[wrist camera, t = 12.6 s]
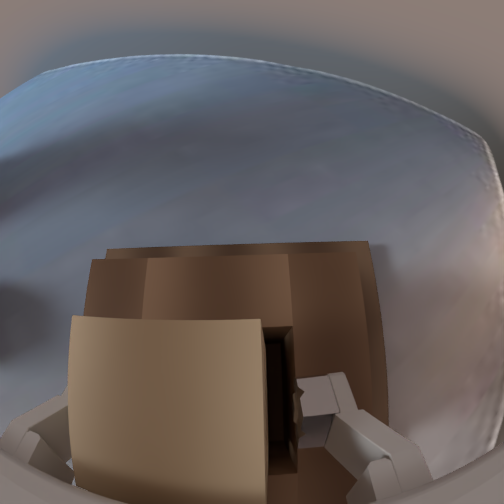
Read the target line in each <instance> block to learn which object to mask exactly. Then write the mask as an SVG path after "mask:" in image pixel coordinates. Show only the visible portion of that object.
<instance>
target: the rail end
mask: <svg viewBox="0 0 504 504" xmlns="http://www.w3.org/2000/svg"><path fill="white" fill-rule="evenodd" d="M68 419H69V434H70V446H71V455H72V463H73V470H74V476H75V482H76V486H78V487H80V488H83V489H85V490H88V491H90V492H93V493H96V494H98V495H101V496H104V497H107V498H110V499H113V500H117V501H120V502H124V503H128V504H267V482H268V450H269V411H268V377H267V354H266V348H265V342H264V337H263V331H262V325H261V319H241V320H147V319H122V318H103V317H88V316H75V315H72V323H71V333H70V345H69V361H68Z"/></svg>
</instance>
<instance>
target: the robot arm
mask: <svg viewBox="0 0 504 504" xmlns="http://www.w3.org/2000/svg"><path fill="white" fill-rule="evenodd" d="M294 391H295V393H294V394H293V397H292V413H293V421H294V422H295V423H296V429H295V436H296V442H297V449H301V448H312V447H322V446H325V448H326V449H327V450H328V451H329V453H330V454H331V455H332V456H333V457H334V458H335V459H336V460H337V461H339V462H340V463H341V464H342V465H343V466H344V467H345V468H346V469H347V470H348V471H349V472H350V473H351V474H352V475H353V476H354V477H355V478H356V479H357V480H358V481H357V482H356V483H355V485H354V486H353V487H352V489H351V490H350V491H349V493H348V494H347V495H346V499H347V504H504V442H503V443H501V444H500V445H498V446H497V447H495V448H494V449H492V450H491V451H489V452H487V453H486V454H484V455H482V456H481V457H479V458H477V459H476V460H474V461H472V462H470V463H468V464H467V465H465V466H463V467H461V468H459V469H457V470H455V471H453V472H451V473H449V474H447V475H445V476H443V477H440V478H438V479H436V480H434V481H433V478H432V476H431V473H430V471H429V469H428V466H427V464H426V461H425V459H424V457H423V454H422V452H421V450H420V448H419V446H418V445H416V444H414V443H413V442H411V441H410V440H408V439H407V438H405V437H403V436H402V435H400V434H399V433H397V432H396V431H394V430H393V429H391V428H390V427H388V426H387V425H385V424H384V423H382V422H381V421H379V420H378V419H376V418H375V417H373V416H372V415H370V414H369V413H368V412H366V411H365V410H363V409H362V410H358V408H357V405H356V402H355V400H354V397H353V394H352V391H351V389H350V386H349V383H348V381H347V378H346V375H345V374H344V373H343V372H338V373H330V374H321V375H311V376H301V377H295V379H294ZM71 458H72V455H71V446H70V434H69V419H68V385H67V387H66V388H65V390H64V392H63V393H62V395H61V396H59V395H57V396H55V397H54V398H52V399H50V400H48V401H46V402H45V403H43V404H41V405H39V406H37V407H35V408H34V409H32V410H30V411H28V412H26V413H24V414H23V415H21V416H19V417H17V418H15V419H13V420H12V421H11V422H10V424H9V426H8V427H7V429H6V430H5V432H4V434H3V435H2V437H1V439H0V504H128V503H124V502H120V501H117V500H113V499H110V498H107V497H104V496H101V495H98V494H95V493H92V492H89V491H86V490H84V489H81V488H79V487H76V486H73V485H71V484H72V481H73V479H74V471H73V470H72V469H71V468H70V467H69V466H68V465H67V464H66V462H67V461H68V460H69V459H71Z"/></svg>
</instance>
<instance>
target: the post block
mask: <svg viewBox="0 0 504 504" xmlns="http://www.w3.org/2000/svg"><path fill="white" fill-rule="evenodd" d="M84 316H88V317H103V318H122V319H147V320H241V319H261V325H262V331H263V337H264V342H265V348H266V354H267V377H268V411H269V450H268V482H267V504H347V499H346V495H347V494H348V493H349V491H350V490H351V489H352V487H353V486H354V485H355V483H356V482H357V481H358V480H357V479H356V478H355V477H354V476H353V475H352V474H351V473H350V472H349V471H348V470H347V469H346V468H345V467H344V466H343V465H342V464H341V463H340V462H339V461H337V460H336V459H335V458H334V457H333V456H332V455H331V454H330V453H329V451H328V450H327V449H326V448H325V446H322V447H312V448H301V449H297V442H296V436H295V429H296V423H295V422H294V421H293V413H292V397H293V394H294V393H295V391H294V379H295V377H301V376H311V375H321V374H330V373H338V372H343V373H344V374H345V375H346V378H347V381H348V383H349V386H350V389H351V391H352V394H353V397H354V400H355V402H356V405H357V408H358V410H362V409H363V410H365V411H366V412H368V413H369V414H370V415H372V416H373V417H375V418H376V419H378V420H379V421H381V422H382V423H384V424H385V425H387V426H388V386H387V370H386V357H385V346H384V337H383V328H382V320H381V312H380V305H379V298H378V292H377V286H376V280H375V274H374V269H373V263H372V258H371V253H370V248H369V244H368V241H341V242H301V243H266V244H233V245H202V246H174V247H147V248H122V249H107V253H106V258H105V259H92V263H91V269H90V274H89V280H88V286H87V293H86V300H85V308H84ZM89 492H90V491H89ZM92 493H93V492H92ZM95 494H96V493H95Z"/></svg>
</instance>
